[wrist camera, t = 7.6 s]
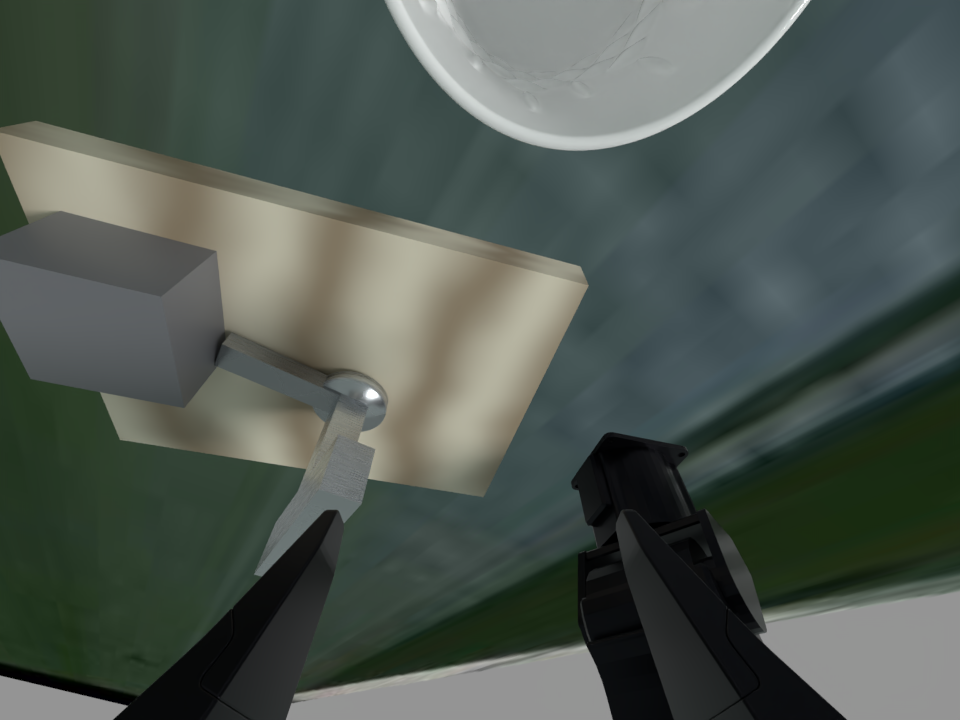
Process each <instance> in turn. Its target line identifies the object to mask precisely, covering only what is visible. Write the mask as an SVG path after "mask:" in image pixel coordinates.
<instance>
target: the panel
mask: <svg viewBox="0 0 960 720" xmlns="http://www.w3.org/2000/svg"><path fill="white" fill-rule="evenodd" d="M0 156H1V158H2V161H3V163H4V165H5V168H6V170H7V172H8V175H9V177H10V180H11V182H12V184H13V187H14V189H15V191H16V194H17V196H18V199H19V201H20V203H21V206H22V208H23V210H24V213H25V215H26V218H27V220H28V222H29V224H30V223H33V222H35V221H37V220H40V219H42V218H45V217H47V216H49V215H52V214H54V213H56V212H59V211H64V212H67V213H71V214H75V215H79V216H83V217H87V218H91V219H94V220H98V221H102V222H106V223H110V224H114V225H118V226H122V227H125V228H129V229H133V230H137V231H141V232H145V233H149V234H153V235H156V236H160V237H164V238H168V239H172V240H176V241H180V242H183V243H187V244H191V245H195V246H199V247H203V248H207V249H211V250H214V251H217V259H218V269H219V278H220V288H221V298H222V307H223V317H224V326H225V336H226V339H227V338H228V336H229V335H230V334H231V333H232V332H233V333H235V334H237V335H239V336H242V337H244V338H246V339H248V340H250V341H253V342H255V343H257V344H259V345H261V346H264V347H266V348H268V349H270V350H273V351H275V352H277V353H279V354H281V355H284V356H286V357H288V358H290V359H293V360H295V361H297V362H299V363H301V364H304V365H306V366H308V367H310V368H313V369H315V370H317V371H319V372H321V373H324V374H326V375H329V374H331V373H334V372H338V371H353V372H358V373H361V374H364V375H367V376H369V377H371V378H373V379H374V380H376V381H377V382H378V383H379V384H380V385H381V386H382V387H383V388H384V390H385V391H386V393H387V396H388V407H387V411H386V415H385V418H384V420H383V421H382V423H381V424H380V425H378V426H377V427H375V428H374V429H371V430H368V431H364V432H361V433H360V436H359V440H358V442H359V443H362V444H364V445H367V446H369V447H372V448H374V449H375V453H374V457H373V461H372V465H371V469H370V473H369V477H368V479H372V480H379V481H385V482H391V483H398V484H404V485H410V486H417V487H423V488H429V489H436V490H442V491H448V492H455V493H461V494H467V495H474V496H480V497H484V495H485V493H486V491H487V489H488V487H489V485H490V483H491V481H492V479H493V477H494V475H495V473H496V471H497V469H498V467H499V465H500V463H501V461H502V459H503V457H504V455H505V453H506V451H507V449H508V447H509V445H510V443H511V441H512V439H513V437H514V435H515V433H516V431H517V429H518V427H519V425H520V423H521V421H522V419H523V417H524V415H525V413H526V411H527V409H528V407H529V405H530V403H531V401H532V399H533V397H534V395H535V393H536V391H537V389H538V387H539V385H540V383H541V381H542V379H543V376H544V374H545V372H546V370H547V368H548V366H549V364H550V362H551V360H552V358H553V356H554V354H555V352H556V350H557V348H558V346H559V344H560V342H561V340H562V338H563V336H564V334H565V332H566V330H567V328H568V326H569V324H570V322H571V320H572V318H573V316H574V314H575V312H576V310H577V308H578V306H579V304H580V302H581V300H582V298H583V296H584V294H585V292H586V290H587V288H588V286H589V285H588V283H587V280H586V278H585V276H584V274H583V271H582V269H581V267H580V266H577V265H573V264H570V263H566V262H562V261H558V260H555V259H551V258H547V257H543V256H540V255H536V254H532V253H528V252H525V251H521V250H517V249H514V248H510V247H506V246H502V245H499V244H495V243H491V242H487V241H484V240H480V239H476V238H472V237H469V236H465V235H461V234H457V233H454V232H450V231H446V230H442V229H439V228H435V227H431V226H428V225H424V224H420V223H416V222H413V221H409V220H405V219H401V218H398V217H394V216H390V215H386V214H383V213H379V212H375V211H371V210H368V209H364V208H360V207H357V206H353V205H349V204H345V203H342V202H338V201H334V200H330V199H327V198H323V197H319V196H315V195H312V194H308V193H304V192H300V191H297V190H293V189H289V188H285V187H282V186H278V185H274V184H271V183H267V182H263V181H259V180H256V179H252V178H248V177H244V176H241V175H237V174H233V173H229V172H226V171H222V170H218V169H214V168H211V167H207V166H203V165H199V164H196V163H192V162H188V161H185V160H181V159H177V158H173V157H170V156H166V155H162V154H158V153H155V152H151V151H147V150H143V149H140V148H136V147H132V146H128V145H125V144H121V143H117V142H113V141H110V140H106V139H102V138H99V137H95V136H91V135H87V134H84V133H80V132H76V131H72V130H69V129H65V128H61V127H57V126H54V125H50V124H46V123H42V122H39V121H32V122H27V123H22V124H16V125H11V126H6V127H1V128H0ZM100 393H101V396H102V398H103V401H104V403H105V405H106V408H107V410H108V412H109V415H110V417H111V420H112V422H113V424H114V427H115V429H116V431H117V434H118V436H119V439H120V440H125V441H131V442H137V443H144V444H150V445H156V446H163V447H169V448H175V449H182V450H188V451H194V452H201V453H207V454H213V455H220V456H226V457H233V458H239V459H245V460H252V461H258V462H264V463H271V464H277V465H283V466H290V467H296V468H302V469H307V467H308V464H309V462H310V459H311V457H312V454H313V452H314V449H315V447H316V444H317V442H318V439H319V437H320V434H321V432H322V429H323V427H324V424H325V422H324V421H323V420H321V419H320V418H319V417H318V416H317V414H316V413H315V411H314V409H313V406H311V405H308V404H306V403H303V402H301V401H299V400H296V399H294V398H291V397H289V396H287V395H284V394H282V393H279V392H277V391H275V390H272V389H270V388H267V387H265V386H263V385H260V384H258V383H255V382H253V381H251V380H248V379H246V378H243V377H241V376H239V375H236V374H234V373H231V372H229V371H227V370H224V369H222V368H219V367H217V368H216V369H215V370H214V371H213V373H212V374H211V375H210V376H209V378H208V379H207V380H206V382H205V383H204V384H203V385H202V387H201V388H200V389H199V390H198V392H197V393H196V394H195V395H194V397H193V398H192V399H191V401H190V402H189V403H188V404H187V406H186V407H185V408H181V407H176V406H170V405H165V404H160V403H154V402H149V401H144V400H139V399H133V398H128V397H123V396H118V395H112V394H107V393H102V392H100Z"/></svg>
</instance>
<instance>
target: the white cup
mask: <svg viewBox="0 0 960 720" xmlns="http://www.w3.org/2000/svg"><path fill="white" fill-rule="evenodd" d="M384 1H385V3H386V5H387V7H388V9H389V11H390V13H391V15H392V17H393V19H394V21H395V23H396V25H397V27H398V29H399V30H400V32H401V34H402V36H403V37H404V39H405V41H406V42H407V44H408V45H409V47H410V49H411V50H412V52H413V53H414V55H415V56H416V57H417V59H418V60H419V62H420V63H421V64H422V66H423V67H424V68H425V70H426V71H427V72H428V73H429V75H430V76H431V77H432V78H433V79H434V80H435V82H436V83H437V84H438V85H439V86H440V87H441V88H442V89H443V90H444V91H445V92H446V93H447V94H448V95H449V96H450V97H451V98H452V99H453V100H454V101H455V102H456V103H457V104H458V105H460V106H461V107H462V108H463V109H464V110H466V111H467V112H468V113H470V114H471V115H472V116H474V117H475V118H476V119H478V120H479V121H481V122H482V123H484V124H486V125H487V126H489V127H491V128H492V129H494V130H496V131H498V132H500V133H502V134H504V135H506V136H509V137H511V138H514V139H516V140H519V141H522V142H525V143H528V144H531V145H535V146H539V147H544V148H550V149H557V150H568V151H586V150H598V149H605V148H611V147H616V146H620V145H624V144H628V143H632V142H635V141H638V140H641V139H644V138H646V137H649V136H652V135H654V134H656V133H659V132H661V131H663V130H665V129H667V128H670V127H672V126H673V125H675V124H677V123H679V122H681V121H683V120H684V119H686V118H688V117H690V116H691V115H693V114H694V113H696V112H698V111H699V110H701V109H702V108H704V107H705V106H707V105H708V104H709V103H711V102H712V101H714V100H715V99H716V98H718V97H719V96H720V95H721V94H723V93H724V92H725V91H727V90H728V89H729V88H730V87H731V86H733V85H734V84H735V83H736V82H737V81H738V80H740V79H741V78H742V77H743V76H744V75H745V74H746V73H747V72H748V71H749V70H751V69H752V68H753V67H754V66H755V65H756V64H757V63H758V62H759V61H760V60H761V59H762V58H763V57H764V56H765V55H766V54H767V53H768V51H769V50H770V49H771V48H772V47H773V46H774V45H775V44H776V43H777V42H778V40H779V39H780V38H781V37H782V36H783V35H784V34H785V32H786V31H787V30H788V29H789V28H790V26H791V25H792V24H793V23H794V21H795V20H796V19H797V18H798V16H799V15H800V14H801V13H802V11H803V10H804V9H805V7H806V6H807V5H808V3H809V2H810V1H811V0H384Z"/></svg>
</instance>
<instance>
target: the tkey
mask: <svg viewBox="0 0 960 720" xmlns="http://www.w3.org/2000/svg"><path fill="white" fill-rule="evenodd" d="M215 366H217V367H219V368H222V369H224V370H227V371H229V372H231V373H234V374H236V375H239V376H241V377H243V378H246V379H248V380H251V381H253V382H255V383H258V384H260V385H263V386H265V387H267V388H270V389H272V390H275V391H277V392H279V393H282V394H284V395H287V396H289V397H291V398H294V399H296V400H299V401H301V402H303V403H306V404H308V405H311V406H313V409H314V411H315V413H316V414H317V416H318V417H319V418H320V419H321V420H323V421H324V422H325V424H324V427H323V429H322V432H321V434H320V437H319V439H318V442H317V444H316V447H315V449H314V452H313V454H312V457H311V459H310V462H309V464H308V467H307V469H306V472H305V474H304V477H303V479H302V482H301V484H300V487H299V489H298V492H297V493H296V495H295V496H294V497H293V499H292V500H291V502H290V503H289V504H288V506H287V507H286V509H285V510H284V511H283V513H282V514H281V516H280V517H279V519H278V520H277V521H276V523H275V525H274V528H273V530H272V533H271V535H270V537H269V540H268V542H267V544H266V547H265V549H264V552H263V554H262V556H261V559H260V561H259V564H258V566H257V568H256V571H255V573H254V575H258V576H263V575H264V574H265V573H266V572H267V570H268V569H269V568H270V567H271V566H272V565H273V564H274V563H275V562H276V561H277V560H278V559H279V558H280V557H281V556H282V555H283V554H284V553H285V552H286V551H287V549H288V548H289V547H290V546H291V545H292V544H293V543H294V542H295V541H296V540H297V539H298V538H299V537H300V536H301V535H302V534H303V533H304V532H305V531H306V530H307V529H308V527H309V526H310V525H311V524H312V523H313V522H314V521H315V520H316V519H317V518H318V517H319V516H320V515H321V514H322V513H323V512H324V511H325V510H338V511H339V512H340V515H341V517H342V520H343V523H345V522H346V521H347V519H348V518H349V517H350V516H351V515H352V514H353V513H354V512H355V511H356V510H357V508H358V507H359V506H360V505H361V504H362V500H363V496H364V492H365V489H366V485H367V481H368V477H369V473H370V469H371V465H372V461H373V457H374V453H375V449H374V448H372V447H369V446H367V445H364V444H362V443H359V442H358V440H359V436H360V433H361V432H364V431H368V430H371V429H374V428H375V427H377V426H378V425H380V424H381V423H382V421H383V420H384V418H385V415H386V411H387V407H388V396H387V393H386V391H385V390H384V388H383V387H382V386H381V385H380V384H379V383H378V382H377V381H376V380H374V379H373V378H371V377H369V376H367V375H364V374H361V373H358V372H353V371H338V372H334V373H331V374H329V375H326V374H324V373H321V372H319V371H317V370H315V369H313V368H310V367H308V366H306V365H304V364H301V363H299V362H297V361H295V360H293V359H290V358H288V357H286V356H284V355H281V354H279V353H277V352H275V351H273V350H270V349H268V348H266V347H264V346H261V345H259V344H257V343H255V342H253V341H250V340H248V339H246V338H244V337H242V336H239V335H237V334H235V333H233V332H232V333H231V334H230V335H229V336H228V338H227V339H226V340H225V341H224V342H223V344H222V346H221V348H220V351H219V354H218V356H217V359H216V362H215Z"/></svg>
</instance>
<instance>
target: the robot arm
mask: <svg viewBox="0 0 960 720" xmlns="http://www.w3.org/2000/svg"><path fill="white" fill-rule="evenodd" d="M687 456H688V451H687V449H686V447H684V446H681V445H676V444H671V443H665V442H660V441H655V440H650V439H645V438H640V437H635V436H630V435H625V434H620V433H615V432H608V433H606V434H604V435H603V436H602V438H601V439H600V441H599V442H598V444H597V445H596V446H595V448H594V449H593V451H592V452H591V454H590V455H589V456H588V457H587V459H586V460H585V462H584V463H583V465H582V466H581V467H580V469H579V470H578V472H577V473H576V475H575V476H574V478H573V479H572V481H571V486H572V488H573V489H574V490H579V494H580V499H581V503H582V508H583V512H584V517H585V522H586V523H587V525H588V526H591V527H592V528H593V532H594V537H595V541H596V545H597V548H596V549H593V550H590V551H588V552H587V551H583V552H580V553H578V625H579V628H580V630H581V632H582V636H583V638H584V641H585V644H586V646H587V648H588V650H589V652H590V654H591V656H592V658H593V660H594V662H595V664H596V667H597V669H598V672H599V675H600V678H601V680H602V683H603V686H604V690H605V693H606V696H607V700H608V704H609V708H610V711H611V715H612V719H613V720H847V719H846V718H845V717H844V716H843V715H842V714H840V713H839V712H838V711H837V710H836V709H835V708H834V707H833V706H832V705H831V704H829V703H828V702H827V701H826V700H825V699H824V698H823V697H822V696H821V695H820V694H818V693H817V692H816V691H815V690H814V689H813V688H812V687H811V686H810V685H809V684H807V683H806V682H805V681H804V680H803V679H802V678H801V677H800V676H799V675H798V674H796V673H795V672H794V671H793V670H792V669H791V668H790V667H789V666H788V665H787V664H785V663H784V662H783V661H782V660H781V659H780V658H779V657H778V656H777V655H776V654H775V653H773V652H772V651H771V650H770V649H769V648H768V647H767V646H766V645H765V644H764V643H763V641H762V639H761V637H760V635H759V634H762V633H766V632H767V628H766V624H765V621H764V617H763V614H762V611H761V607H760V604H759V600H758V597H757V593H756V590H755V587H754V583H753V580H752V576H751V574H750V572H749V570H748V568H747V566H746V564H745V563H744V561H743V559H742V557H741V555H740V553H739V552H738V550H737V548H736V546H735V544H734V542H733V541H732V539H731V538H730V536H729V535H728V534H727V533H726V532H725V531H724V529H723V528H722V527H721V526H720V525H719V524H718V523H717V521H716V520H715V519H714V518H713V517H712V516H711V515H710V513H709V512H708V511H707V510H706V509H705V508H704V509H701V510H699V511H697V510H696V508H695V506H694V504H693V502H692V500H691V497H690V495H689V493H688V491H687V489H686V486H685V484H684V482H683V480H682V478H681V475H680V473H679V471H678V469H677V466H678V465H679V464H680V463H681V462H682V461H683V460H684V459H685V458H686V457H687ZM343 532H344V523H343V520H342V517H341V515H340V512H339V511H338V510H325V511H324V512H323V513H322V514H321V515H320V516H319V517H318V518H317V519H316V520H315V521H314V522H313V523H312V524H311V525H310V526H309V527H308V529H307V530H306V531H305V532H304V533H303V534H302V535H301V536H300V537H299V538H298V539H297V540H296V541H295V542H294V543H293V544H292V545H291V546H290V547H289V548H288V549H287V551H286V552H285V553H284V554H283V555H282V556H281V557H280V558H279V559H278V560H277V561H276V562H275V563H274V564H273V565H272V566H271V567H270V568H269V569H268V570H267V572H266V573H265V574H264V575H263V576H262V577H261V578H260V579H259V580H258V581H257V582H256V583H255V584H254V585H253V586H252V587H251V588H250V589H249V590H248V591H247V592H246V594H245V595H244V596H243V597H242V598H241V599H240V600H239V601H238V602H237V603H236V604H235V605H234V606H233V609H230V610H229V611H228V612H227V613H226V614H225V615H224V616H223V617H222V618H221V619H220V620H219V621H218V622H217V623H216V624H215V625H214V626H213V627H212V628H211V629H210V630H209V631H208V632H207V633H206V634H205V635H204V636H203V637H202V638H201V639H200V640H199V641H198V642H197V643H196V644H195V645H194V646H193V647H192V648H191V649H190V650H189V651H188V652H187V653H185V654H184V655H183V656H182V657H181V658H180V659H179V660H178V661H177V662H176V663H175V664H173V665H172V666H171V667H170V668H169V669H168V670H167V671H166V672H165V673H164V674H162V675H161V676H160V677H159V678H158V679H157V680H156V681H155V682H154V683H153V684H151V685H150V686H149V687H148V688H147V689H146V690H145V691H144V692H143V693H142V694H140V695H139V696H138V697H137V698H136V699H135V700H134V701H133V702H132V703H131V704H129V705H128V706H127V707H126V708H125V709H124V710H123V711H122V712H121V713H120V714H118V715H117V716H116V717H115V718H114V719H113V720H286V718H287V715H288V712H289V709H290V706H291V703H292V700H293V697H294V694H295V691H296V688H297V685H298V682H299V679H300V676H301V673H302V670H303V667H304V664H305V661H306V658H307V655H308V652H309V649H310V646H311V643H312V640H313V637H314V634H315V631H316V628H317V625H318V622H319V620H320V617H321V614H322V611H323V608H324V605H325V602H326V599H327V596H328V593H329V590H330V587H331V584H332V580H333V577H334V573H335V569H336V565H337V560H338V555H339V551H340V546H341V541H342V537H343Z"/></svg>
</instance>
